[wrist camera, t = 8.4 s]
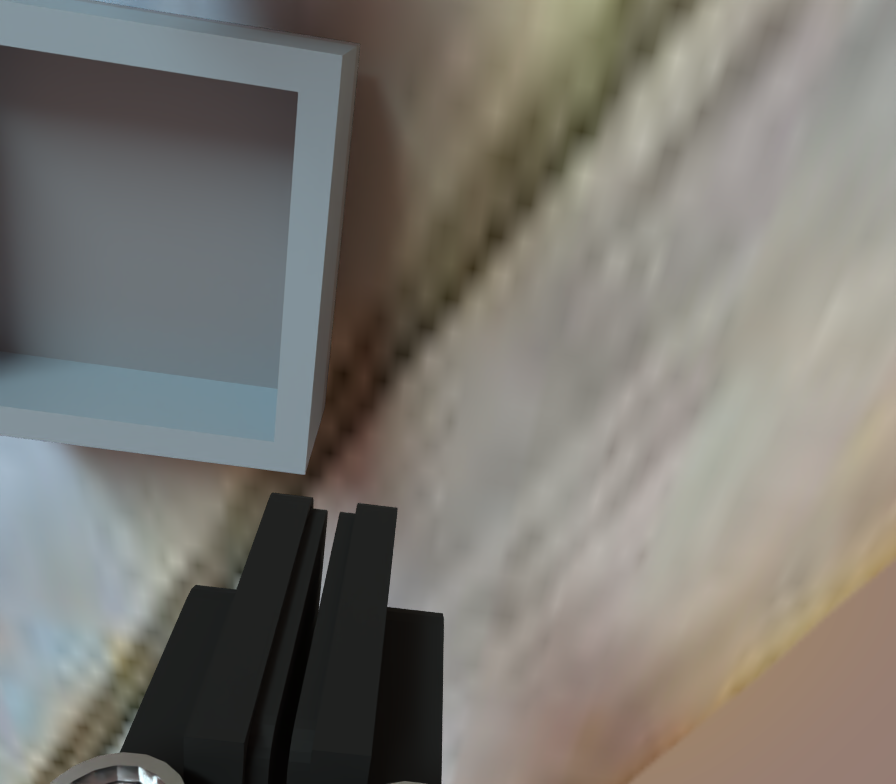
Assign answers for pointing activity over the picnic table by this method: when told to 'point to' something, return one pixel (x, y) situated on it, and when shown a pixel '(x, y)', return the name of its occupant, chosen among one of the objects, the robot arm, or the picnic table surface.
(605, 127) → the picnic table surface
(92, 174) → the grey square cubby
